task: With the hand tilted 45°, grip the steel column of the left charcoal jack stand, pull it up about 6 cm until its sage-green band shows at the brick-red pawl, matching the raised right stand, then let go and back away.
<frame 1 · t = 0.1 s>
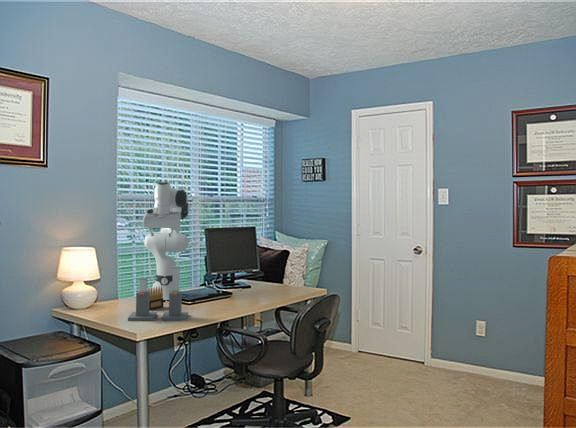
hand: (161, 236, 276), 39 cm above the table, tool pointing down, fingers open, 8 cm apart
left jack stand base: (142, 317, 252), on the table
right jack stand: (175, 317, 254), on the table
left jack column: (143, 295, 252), point 12 cm above the table, slide at 0.0 cm
ammunition clip: (154, 309, 272), on the table
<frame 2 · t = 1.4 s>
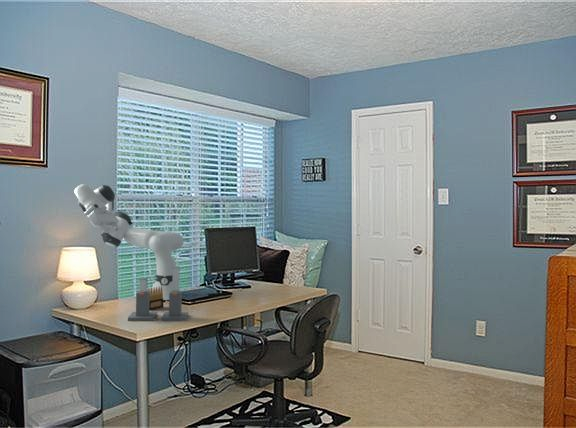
hand: (113, 230, 257), 43 cm above the table, tool tilted 45°, fingers open, 8 cm apart
nothing on the table moved.
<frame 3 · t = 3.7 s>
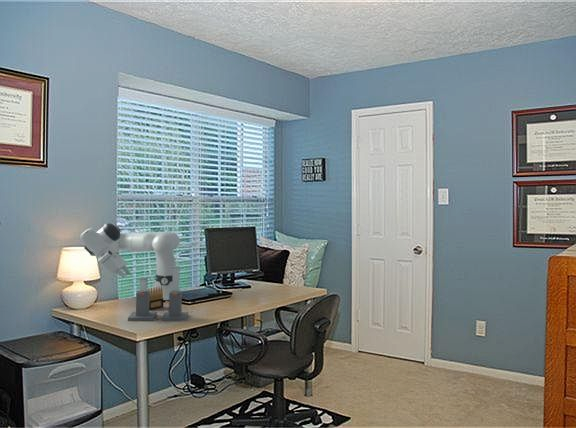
hand: (127, 275, 250), 22 cm above the table, tool tilted 45°, fingers open, 8 cm apart
nothing on the table moved.
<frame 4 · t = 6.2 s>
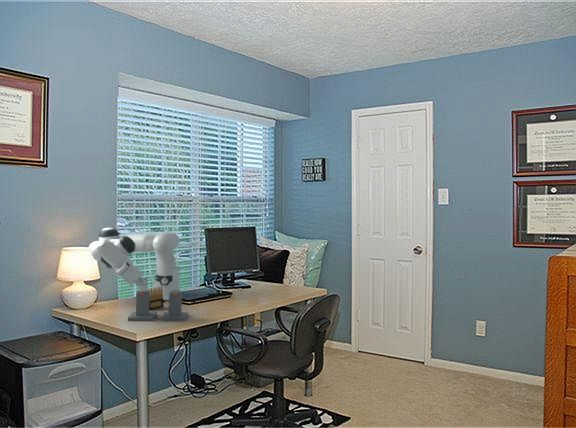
hand: (144, 286, 252), 16 cm above the table, tool tilted 45°, fingers closed on left jack column, 3 cm apart
left jack column: (143, 295, 252), point 12 cm above the table, slide at 0.0 cm, touching gripper
everything else where it was.
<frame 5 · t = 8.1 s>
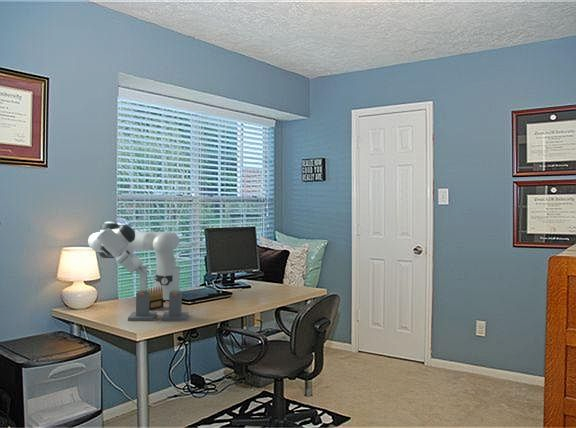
hand: (144, 274, 251), 22 cm above the table, tool tilted 45°, fingers closed on left jack column, 3 cm apart
left jack column: (143, 283, 251), point 17 cm above the table, slide at 5.8 cm, touching gripper
everything else where it was.
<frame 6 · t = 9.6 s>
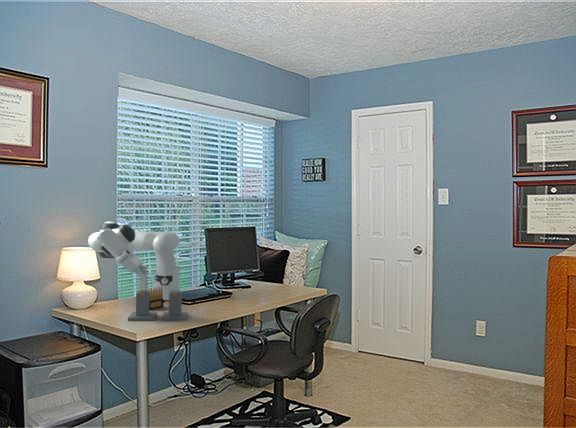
hand: (144, 274, 251), 22 cm above the table, tool tilted 45°, fingers open, 8 cm apart
left jack column: (143, 283, 251), point 17 cm above the table, slide at 5.8 cm
everything else where it was.
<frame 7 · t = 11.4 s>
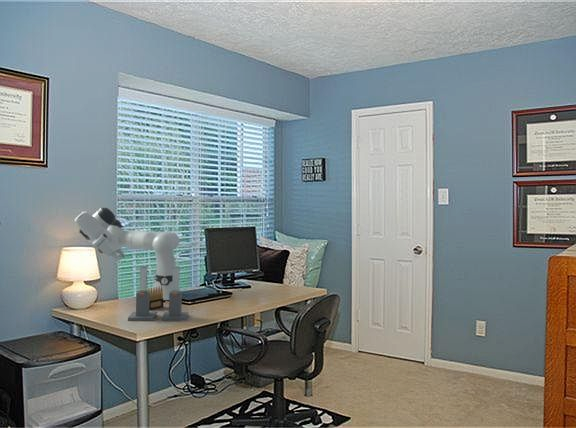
hand: (122, 258, 249), 30 cm above the table, tool tilted 45°, fingers open, 8 cm apart
nothing on the table moved.
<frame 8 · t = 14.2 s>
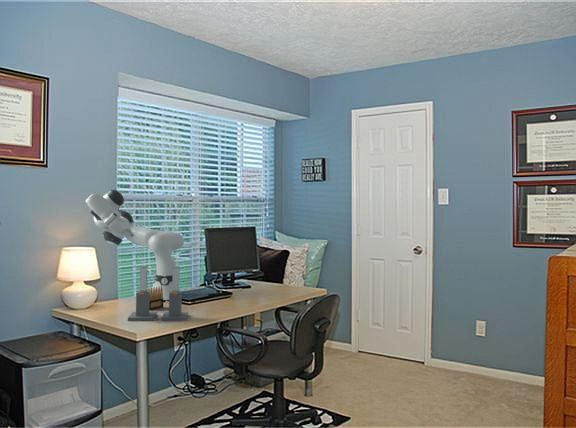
hand: (131, 237, 262), 39 cm above the table, tool tilted 45°, fingers open, 8 cm apart
nothing on the table moved.
at the end: left jack column slide at 5.8 cm; the gripper is holding nothing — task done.
